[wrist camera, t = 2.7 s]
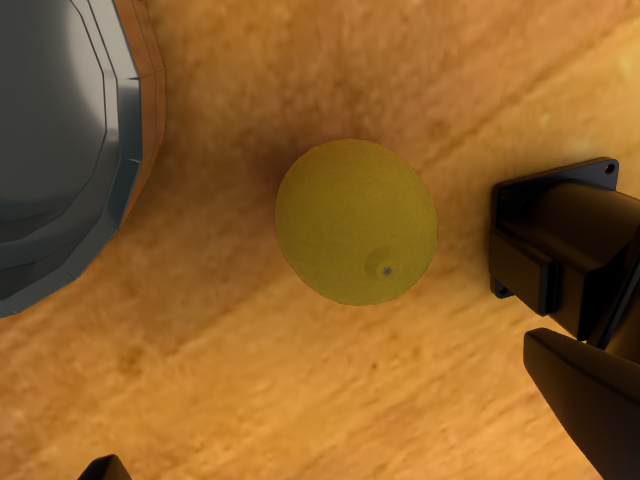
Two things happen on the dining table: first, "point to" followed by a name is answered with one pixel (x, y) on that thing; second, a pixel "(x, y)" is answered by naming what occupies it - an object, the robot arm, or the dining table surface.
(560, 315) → the robot arm
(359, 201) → the lemon
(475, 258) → the dining table surface
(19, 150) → the grey pet bowl
